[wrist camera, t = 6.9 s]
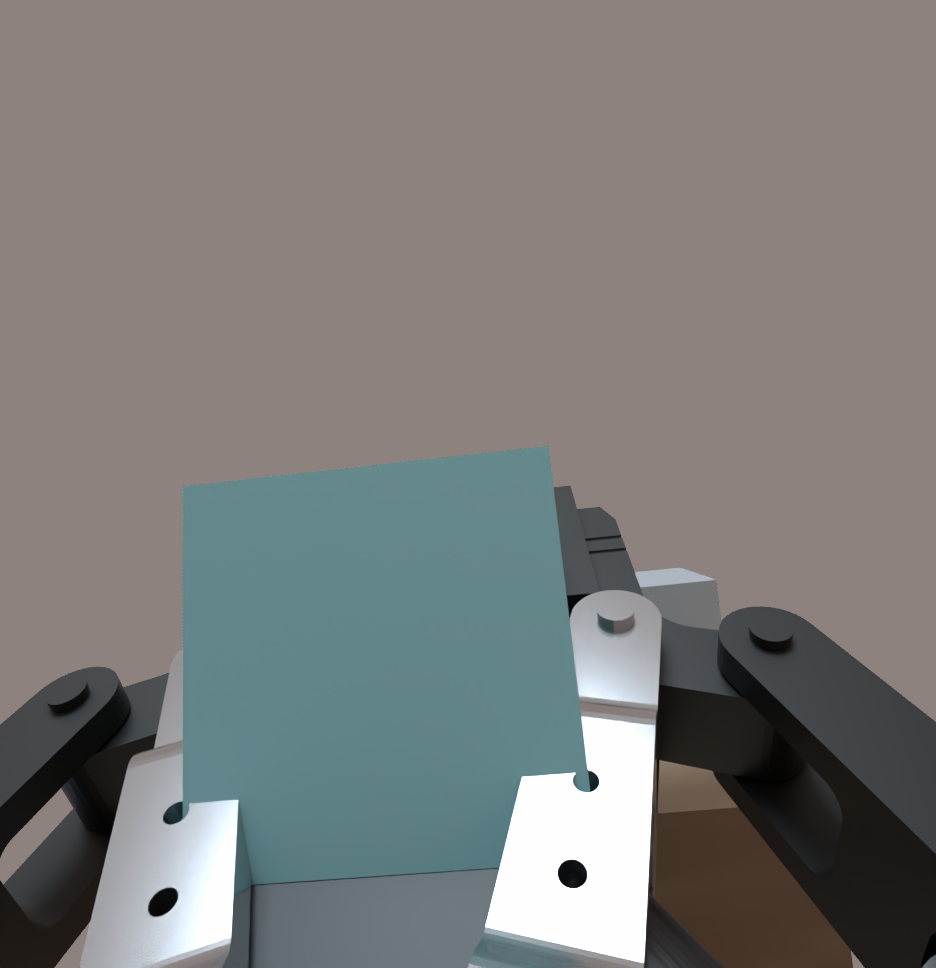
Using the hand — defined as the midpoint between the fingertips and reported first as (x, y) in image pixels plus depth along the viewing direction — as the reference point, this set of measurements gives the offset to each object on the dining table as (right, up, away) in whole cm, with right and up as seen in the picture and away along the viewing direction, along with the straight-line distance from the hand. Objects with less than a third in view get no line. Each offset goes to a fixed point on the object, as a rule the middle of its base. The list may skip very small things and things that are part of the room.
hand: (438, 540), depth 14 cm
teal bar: (+1, -5, +4) cm, 7 cm away
